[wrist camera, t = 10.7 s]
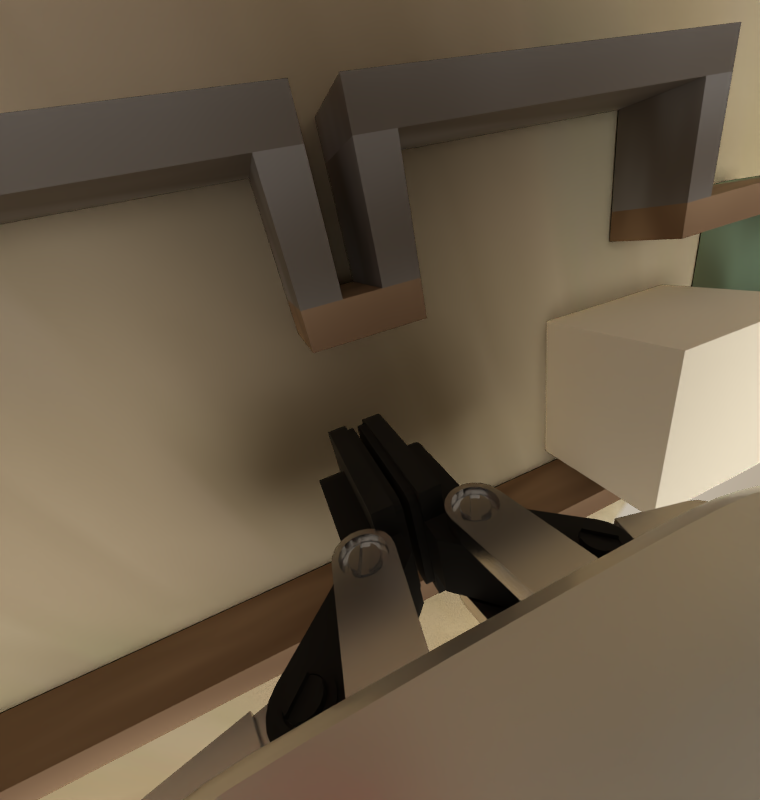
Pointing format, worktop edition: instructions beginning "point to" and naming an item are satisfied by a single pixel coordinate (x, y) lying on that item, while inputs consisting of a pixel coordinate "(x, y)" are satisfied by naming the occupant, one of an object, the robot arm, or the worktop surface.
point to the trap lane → (356, 283)
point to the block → (657, 392)
